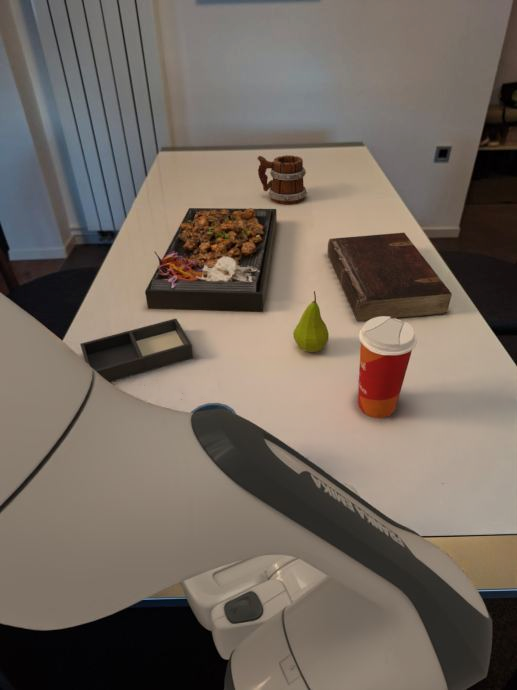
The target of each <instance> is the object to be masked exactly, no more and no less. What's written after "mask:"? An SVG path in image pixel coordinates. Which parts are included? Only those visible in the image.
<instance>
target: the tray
mask: <svg viewBox="0 0 517 690" xmlns="http://www.w3.org/2000/svg"><path fill="white" fill-rule="evenodd" d="M79 345H80V348H81V352H82V355H83V360H84V361H85V362H87V363H88V364H89V365H90V366H91V368H93V369H94V370H95V371H96V372H97V373H99V374H100V375H101V376H102V377H103V378H104V379H106V380H107V381H108V382H110V383H112V382H115V381H118V380H121V379H125V378H129V377H132V376H135V375H138V374H142V373H145V372H150V371H153V370H155V369H160V368H163V367H166V366H169V365H172V364H177V363H180V362H184V361H186V360H189V359H190V360H191V359H194V353H193V352H194V351H193V344H192V342H191V341H190V339H189V337H188V336H187V334H186V333H185V331H184V329H183V327H182V325H181V323H180V322H179V321H178V319H177V318H172V319H168V320H165V321H160V322H158V323H153V324H149V325H145V326H141V327H137V328H134V329H130V330H126V331H123V332H119V333H115V334H111V335H108V336H107V335H106V336H103V337H101V338H96V339H92V340H88V341H84V342H81V343H79Z"/></svg>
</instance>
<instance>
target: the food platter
mask: <svg viewBox="0 0 517 690" xmlns="http://www.w3.org/2000/svg"><path fill="white" fill-rule="evenodd" d="M277 215H278V214H277V208H253V207H248V208H226V207H225V208H224V207H223V208H221V207H220V208H218V207H215V208H214V207H188V209H187V211H186V213H185V215H184V217H183V219H182V220H181V223H180V225H179V226H178V228H177V229H176V230H177V231H176V232H175V234H174V235H173V237H172V240H171V241H170V243H169V245H168V246H167V249H166V251H165V253H164V255H163V257H162V258H160V256H159V255H158V253H157V252H156V251H155V250H153V252H154V254H155V255H156V257H157V259H158V263H159V264H158V265H157V268H156V269H155V271H154V273H153V275H152V277H151V280H150V281H149V283H148V285H147V287H146V289H145V291H144V294H145V297H146V299H145V300H146V305H147V309H148V310H175V311H180V310H181V311H211V312H213V311H214V312H215V311H216V312H250V313H253V312H255V313H264V309H265V302H266V295H267V289H268V284H269V283H268V282H269V276H270V270H271V263H272V257H273V249H274V243H275V237H276V232H277V223H278V221H277V219H278V217H277Z"/></svg>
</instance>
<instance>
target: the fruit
mask: <svg viewBox="0 0 517 690" xmlns="http://www.w3.org/2000/svg"><path fill="white" fill-rule="evenodd" d="M313 296H314V298H313V301H311V303H309V304H308V305H307V307H306V308H305V310H304V311H303V313H302V315H301V317H300V319H299V321H298V323H297V324H296V327H295V328H294V330H293V333H292V334H293V339H294V341H295V343H296V345H297V347H298V348H299V349H301V350H303V351H305V352H309V353H315V352H318V351H321V350H323V349H325V347H326V345H327V343H328V341H329V330H328V327H327V325H326V323H325V322H324V320H323V318H322V316H321V309H320V306H319V305H318V302H317V296H316V291H315V290H314V291H313Z"/></svg>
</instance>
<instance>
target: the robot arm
mask: <svg viewBox="0 0 517 690" xmlns="http://www.w3.org/2000/svg"><path fill="white" fill-rule="evenodd" d="M178 584H180V586H181V589H182V592H183V593H184V597H185V598H186V600H187V603H188V605H189V607H190V609H191V611H192V613H193V614H194V616H195V618H196V619H197V621H198V623H199V624H200V625H201V626H202V627H203V628H205V629H206V630H208V631H210V632H211V635H212V640H213V642H214V645H215V648H216V650H217V652H218V654H219V656H220V657H221V658H222V659H223V660H225V661H226V660H227V661H228V662H227V665H226V670H225V676H224V687H223V688H224V689H223V690H467V689H469V688H471V687H472V686H474V685H476V684H477V683H479V682H480V681H482V680H484V679H485V678H487V677H488V672H489V666H490V662H491V655H492V647H493V646H492V645H493V619H492V616H491V614H490V613H489V611H488V609H487V606H486V603H485V601H484V599H483V598H482V596H481V594H480V592H479V591H478V589H477V587H476V586H475V585H474V583H473V582H472V580H471V579H470V578H469V576H468V575H467V574H466V572H465V571H464V570H463V568H462V567H460V565H459V564H458V563H457V562H456V561H455V560H454V559H453V558H452V556H450V555H449V554H448V553H446V552H445V551H444V550H443V549H442V548H441V547H439V546H438V545H436V544H434V543H433V542H432V541H430V540H428V539H427V538H424V537H423V536H422V535H420V534H419V533H418V532H416V531H415V530H413V529H411V528H409V527H407V526H405V525H402V524H400V523H398V521H395V520H393V519H392V518H390V517H388V516H387V514H384V513H383V512H381V510H379V509H378V508H376V507H374V506H373V505H372V504H370V503H369V502H368V501H366V500H365V499H364V498H362V497H361V496H360V494H359V492H358V491H357V489H356V488H355V487H354V486H352V485H351V484H348V483H344V482H340V481H339V480H337V479H336V478H335V477H333V476H332V475H331V474H329V473H328V472H327V471H325V470H324V469H322V468H321V467H319V466H318V465H317V464H315V463H314V462H313V461H311V460H310V459H308V458H307V457H306V456H304V455H302V454H301V453H300V452H298V451H297V450H295V449H294V448H293V447H291V446H290V445H289V444H288V443H285V442H284V441H283V440H281V439H280V438H278V437H276V436H275V435H273V434H271V433H270V432H269V431H267V430H265V429H264V428H262V427H261V426H259V425H257V424H256V423H254V422H252V421H250V420H249V419H247V418H244V417H243V416H241V415H240V414H239V415H238V414H237V413H236V414H234V413H232V412H229V411H227V410H225V409H221V408H218V409H212V410H205V411H199V412H195V413H190V412H188V411H183V410H177V409H173V408H167V407H165V406H160V405H158V404H154V403H152V402H149V401H147V400H146V401H145V400H144V399H141V398H138V397H137V396H134V395H133V394H130V393H128V392H126V391H125V390H123V389H121V388H119V387H118V386H116V385H114V384H113V383H112V382H108V381H107V380H106V379H104V378H103V377H102V376H101V375H100V374H99V373H97V372H96V371H95V370H94V369H93V368H91V366H90V365H89V364H88V363H87V362H85V359H84V358H82V357H81V356H80V355H79V354H78V353H77V352H76V351H75V350H73V349H72V348H71V347H70V346H69V345H68V344H66V342H65V341H63V340H62V339H61V338H59V336H57V335H56V334H55V333H54V332H52V330H50V329H48V327H46V326H45V325H44V324H43V323H41V322H40V321H39V320H38V319H37V318H35V317H34V316H32V315H31V314H30V313H29V312H27V311H26V310H25V309H23V308H22V307H20V306H19V305H18V304H17V303H15V302H14V301H13V300H11V299H10V298H9V297H8V296H6V295H5V294H3V293H2V292H0V624H1V625H5V626H11V627H13V628H14V627H15V628H20V629H21V628H22V629H26V630H31V631H32V630H33V631H54V630H63V629H68V628H73V627H77V626H81V625H84V624H88V623H91V622H94V621H98V620H100V619H103V618H107V617H108V616H111V615H114V614H116V613H118V612H120V611H122V610H125V609H127V608H129V607H131V606H133V605H135V604H137V603H139V602H141V601H143V600H145V599H148V598H150V597H152V596H154V595H156V594H159V593H160V592H162V591H165V590H166V589H168V588H172V587H173V586H175V585H178Z"/></svg>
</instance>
